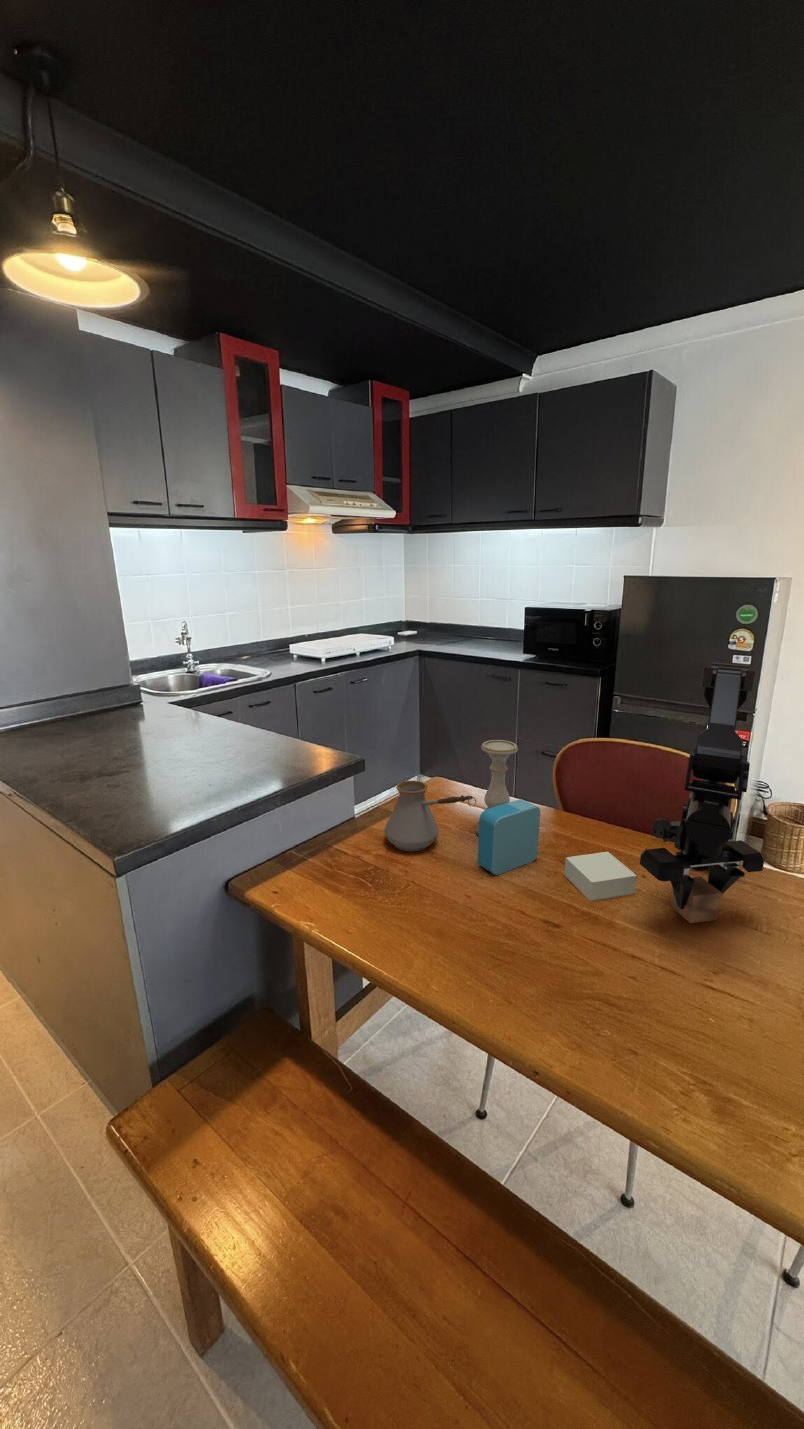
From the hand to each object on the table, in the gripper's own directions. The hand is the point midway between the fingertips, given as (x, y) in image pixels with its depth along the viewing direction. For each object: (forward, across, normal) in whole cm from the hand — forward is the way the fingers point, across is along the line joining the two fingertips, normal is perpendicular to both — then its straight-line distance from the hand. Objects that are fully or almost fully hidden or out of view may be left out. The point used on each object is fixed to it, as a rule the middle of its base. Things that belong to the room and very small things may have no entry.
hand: (694, 905), depth 97 cm
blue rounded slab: (+3, +24, -23) cm, 33 cm away
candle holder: (+3, +22, -36) cm, 42 cm away
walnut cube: (+1, 0, 0) cm, 1 cm away
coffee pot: (+3, +38, -31) cm, 49 cm away
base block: (+3, +10, -13) cm, 17 cm away
